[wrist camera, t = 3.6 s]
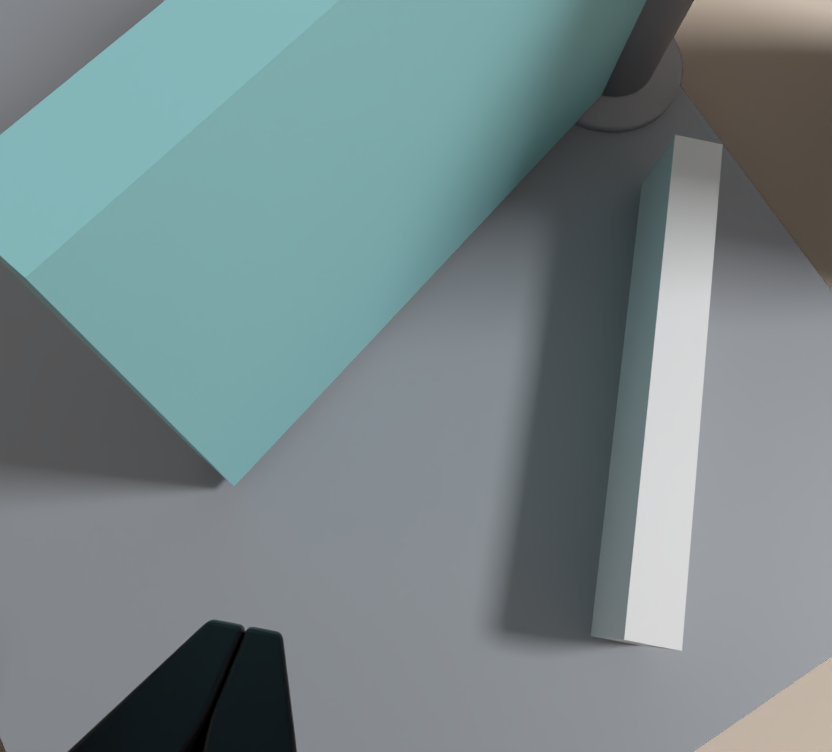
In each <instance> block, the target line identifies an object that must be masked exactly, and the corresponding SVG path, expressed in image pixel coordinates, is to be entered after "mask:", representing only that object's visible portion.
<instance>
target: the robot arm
mask: <svg viewBox="0 0 832 752" xmlns="http://www.w3.org/2000/svg"><path fill="white" fill-rule="evenodd" d="M68 752H297V747H296V739H295V731H294V722H293V714H292V706H291V698H290V689H289V681H288V673H287V665H286V656H285V648H284V640H283V636H282V634H281V633H280V632H278V631H273V630H268V629H263V628H257V627H249V628H248V629H247V630H246V631H245V628H244V627H243V626H242V625H241V624H237V623H232V622H226V621H221V620H214V619H213V620H210V621H208V622H206V623H205V624H204V625H203V626H202V627H201V628H200V629H198V630H197V631H196V632H195V633H194V634H193V635H192V636H191V637H190V638H189V639H188V640H187V641H186V642H185V643H183V644H182V645H181V646H180V647H179V648H178V649H177V650H176V651H175V652H174V653H173V654H172V655H171V656H169V657H168V658H167V659H166V660H165V661H164V662H163V663H162V664H161V665H160V666H159V667H158V668H157V669H156V670H154V671H153V672H152V673H151V674H150V675H149V676H148V677H147V678H146V679H145V680H144V681H143V682H142V683H141V684H139V685H138V686H137V687H136V688H135V689H134V690H133V691H132V692H131V693H130V694H129V695H128V696H127V697H126V698H124V699H123V700H122V701H121V702H120V703H119V704H118V705H117V706H116V707H115V708H114V709H113V710H112V711H111V712H109V713H108V714H107V715H106V716H105V717H104V718H103V719H102V720H101V721H100V722H99V723H98V724H97V725H95V726H94V727H93V728H92V729H91V730H90V731H89V732H88V733H87V734H86V735H85V736H84V737H83V738H82V739H80V740H79V741H78V742H77V743H76V744H75V745H74V746H73V747H72V748H71V749H70V750H69V751H68Z"/></svg>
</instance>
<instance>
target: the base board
mask: <svg viewBox="0 0 832 752" xmlns="http://www.w3.org/2000/svg"><path fill="white" fill-rule="evenodd" d="M164 1H165V0H0V135H1V134H2V133H3V132H4V131H6V130H7V129H8V128H9V127H10V126H12V125H13V124H14V123H15V122H17V121H18V120H19V119H20V118H21V117H23V116H24V115H25V114H26V113H28V112H29V111H30V110H31V109H33V108H34V107H35V106H36V105H37V104H39V103H40V102H41V101H42V100H44V99H45V98H46V97H47V96H49V95H50V94H51V93H52V92H53V91H55V90H56V89H57V88H58V87H60V86H61V85H62V84H63V83H64V82H66V81H67V80H68V79H69V78H71V77H72V76H73V75H74V74H76V73H77V72H78V71H79V70H80V69H82V68H83V67H84V66H85V65H87V64H88V63H89V62H90V61H91V60H93V59H94V58H95V57H96V56H98V55H99V54H100V53H101V52H103V51H104V50H105V49H106V48H107V47H109V46H110V45H111V44H112V43H114V42H115V41H116V40H117V39H119V38H120V37H121V36H122V35H123V34H125V33H126V32H127V31H128V30H130V29H131V28H132V27H133V26H134V25H136V24H137V23H138V22H139V21H141V20H142V19H143V18H144V17H146V16H147V15H148V14H149V13H150V12H152V11H153V10H154V9H155V8H157V7H158V6H159V5H160V4H161V3H163V2H164ZM682 72H683V68H682V58H681V54H680V51H679V48H678V45H677V43H676V41H675V39H674V37H673V39H672V41H671V43H670V44H669V46H668V48H667V50H666V52H665V53H664V55H663V57H662V59H661V61H660V63H659V64H658V66H657V68H656V70H655V72H654V73H653V75H652V77H651V79H650V80H649V82H648V83H647V84H646V85H645V86H644V87H643V88H641V89H640V90H639V91H637V92H635V93H632V94H629V95H625V96H618V97H613V96H604V95H601V96H600V97H599V98H598V99H597V101H596V102H595V103H594V104H593V105H592V106H591V107H590V108H589V109H588V110H587V111H586V112H585V113H584V114H583V115H582V117H581V118H580V119H579V120H578V121H577V122H576V123H575V124H574V125H573V126H572V127H571V128H570V129H569V130H568V131H567V132H566V134H565V135H564V136H563V137H562V138H561V139H560V140H559V141H558V142H557V143H556V144H555V145H554V146H553V147H552V148H551V150H550V151H549V152H548V153H547V154H546V155H545V156H544V157H543V158H542V159H541V160H540V161H539V162H538V163H537V164H536V166H535V167H534V168H533V169H532V170H531V171H530V172H529V173H528V174H527V175H526V176H525V177H524V178H523V179H522V180H521V182H520V183H519V184H518V185H517V186H516V187H515V188H514V189H513V190H512V191H511V192H510V193H509V194H508V195H507V196H506V197H505V199H504V200H503V201H502V202H501V203H500V204H499V205H498V206H497V207H496V208H495V209H494V210H493V211H492V212H491V213H490V215H489V216H488V217H487V218H486V219H485V220H484V221H483V222H482V223H481V224H480V225H479V226H478V227H477V228H476V229H475V231H474V232H473V233H472V234H471V235H470V236H469V237H468V238H467V239H466V240H465V241H464V242H463V243H462V244H461V245H460V246H459V248H458V249H457V250H456V251H455V252H454V253H453V254H452V255H451V256H450V257H449V258H448V259H447V260H446V261H445V262H444V264H443V265H442V266H441V267H440V268H439V269H438V270H437V271H436V272H435V273H434V274H433V275H432V276H431V277H430V278H429V280H428V281H427V282H426V283H425V284H424V285H423V286H422V287H421V288H420V289H419V290H418V291H417V292H416V293H415V294H414V296H413V297H412V298H411V299H410V300H409V301H408V302H407V303H406V304H405V305H404V306H403V307H402V308H401V309H400V310H399V311H398V313H397V314H396V315H395V316H394V317H393V318H392V319H391V320H390V321H389V322H388V323H387V324H386V325H385V326H384V327H383V329H382V330H381V331H380V332H379V333H378V334H377V335H376V336H375V337H374V338H373V339H372V340H371V341H370V342H369V343H368V345H367V346H366V347H365V348H364V349H363V350H362V351H361V352H360V353H359V354H358V355H357V356H356V357H355V358H354V359H353V360H352V362H351V363H350V364H349V365H348V366H347V367H346V368H345V369H344V370H343V371H342V372H341V373H340V374H339V375H338V376H337V378H336V379H335V380H334V381H333V382H332V383H331V384H330V385H329V386H328V387H327V388H326V389H325V390H324V391H323V392H322V394H321V395H320V396H319V397H318V398H317V399H316V400H315V401H314V402H313V403H312V404H311V405H310V406H309V407H308V408H307V409H306V411H305V412H304V413H303V414H302V415H301V416H300V417H299V418H298V419H297V420H296V421H295V422H294V423H293V424H292V425H291V427H290V428H289V429H288V430H287V431H286V432H285V433H284V434H283V435H282V436H281V437H280V438H279V439H278V440H277V441H276V443H275V444H274V445H273V446H272V447H271V448H270V449H269V450H268V451H267V452H266V453H265V454H264V455H263V456H262V457H261V459H260V460H259V461H258V462H257V463H256V464H255V465H254V466H253V467H252V468H251V469H250V470H249V471H248V472H247V473H246V474H245V476H244V477H243V478H242V479H241V480H240V481H239V482H238V483H237V484H236V485H235V486H233V485H232V484H231V483H229V482H228V481H227V480H226V479H225V478H224V477H223V476H222V475H221V474H219V473H218V472H217V471H216V470H215V469H214V468H213V467H212V466H211V465H209V464H208V463H207V462H206V461H205V460H204V459H203V458H202V457H201V456H199V455H198V454H197V453H196V452H195V451H194V450H193V449H192V448H191V447H190V446H189V445H188V444H187V443H186V442H185V441H184V440H183V439H182V438H181V437H180V436H179V435H178V434H177V433H176V432H175V431H174V430H173V429H172V428H171V427H169V426H168V425H167V424H166V423H165V422H164V421H163V420H162V419H161V418H160V417H159V416H158V415H157V414H156V413H155V412H154V411H153V410H152V409H151V408H150V407H149V406H148V405H147V404H146V403H145V402H144V401H143V400H142V399H141V398H140V397H139V396H138V395H137V394H136V393H135V392H134V391H133V390H132V389H131V388H130V387H128V386H127V385H126V384H125V383H124V382H123V381H122V380H121V379H120V378H119V377H118V376H117V375H116V374H115V373H114V372H113V371H112V370H111V369H110V368H109V367H108V366H107V365H106V364H105V363H104V362H103V361H102V360H101V359H100V358H99V357H98V356H97V355H96V354H95V353H94V352H93V351H92V350H91V349H90V348H89V347H88V346H86V345H85V344H84V343H83V342H82V341H81V340H80V339H79V338H78V337H77V336H76V335H75V334H74V333H73V332H72V331H71V330H70V329H69V328H68V327H67V326H66V325H65V324H64V323H63V322H62V321H61V320H60V319H59V318H58V317H57V316H56V315H55V314H54V313H53V312H52V311H51V310H50V309H49V308H48V307H47V306H46V305H44V304H43V303H42V302H41V301H40V300H39V299H38V298H37V297H36V296H35V295H34V294H33V293H32V292H31V291H30V290H29V289H28V288H27V287H26V286H25V285H24V284H23V283H22V282H21V281H20V280H19V279H18V278H17V277H16V276H15V275H14V274H13V273H12V272H11V271H10V270H9V269H8V268H7V267H6V266H5V265H4V264H2V263H1V262H0V738H1V741H2V743H3V746H4V748H5V751H6V752H68V751H69V750H70V749H71V748H72V747H73V746H74V745H75V744H76V743H77V742H78V741H79V740H80V739H82V738H83V737H84V736H85V735H86V734H87V733H88V732H89V731H90V730H91V729H92V728H93V727H94V726H95V725H97V724H98V723H99V722H100V721H101V720H102V719H103V718H104V717H105V716H106V715H107V714H108V713H109V712H111V711H112V710H113V709H114V708H115V707H116V706H117V705H118V704H119V703H120V702H121V701H122V700H123V699H124V698H126V697H127V696H128V695H129V694H130V693H131V692H132V691H133V690H134V689H135V688H136V687H137V686H138V685H139V684H141V683H142V682H143V681H144V680H145V679H146V678H147V677H148V676H149V675H150V674H151V673H152V672H153V671H154V670H156V669H157V668H158V667H159V666H160V665H161V664H162V663H163V662H164V661H165V660H166V659H167V658H168V657H169V656H171V655H172V654H173V653H174V652H175V651H176V650H177V649H178V648H179V647H180V646H181V645H182V644H183V643H185V642H186V641H187V640H188V639H189V638H190V637H191V636H192V635H193V634H194V633H195V632H196V631H197V630H198V629H200V628H201V627H202V626H203V625H204V624H205V623H206V622H208V621H210V620H213V619H214V620H221V621H226V622H232V623H237V624H241V625H242V626H243V627H244V628H245V631H246V630H247V629H248V628H249V627H257V628H263V629H268V630H273V631H278V632H280V633H281V634H282V636H283V640H284V648H285V656H286V665H287V673H288V681H289V689H290V698H291V706H292V714H293V722H294V731H295V739H296V747H297V752H694V751H695V750H696V749H698V748H699V747H701V746H702V745H704V744H705V743H707V742H708V741H709V740H711V739H712V738H714V737H715V736H717V735H718V734H720V733H721V732H723V731H724V730H725V729H727V728H728V727H730V726H731V725H733V724H734V723H736V722H737V721H739V720H740V719H741V718H743V717H744V716H746V715H747V714H749V713H750V712H752V711H753V710H755V709H756V708H757V707H759V706H760V705H762V704H763V703H765V702H766V701H768V700H769V699H770V698H772V697H773V696H775V695H776V694H778V693H779V692H781V691H782V690H784V689H785V688H786V687H788V686H789V685H791V684H792V683H794V682H795V681H797V680H798V679H800V678H801V677H802V676H804V675H805V674H807V673H808V672H810V671H811V670H813V669H814V668H815V667H817V666H818V665H820V664H821V663H823V662H824V661H826V660H827V659H829V658H830V657H831V656H832V291H831V290H830V288H829V287H828V286H827V284H826V283H825V282H824V280H823V279H822V277H821V276H820V275H819V273H818V272H817V271H816V269H815V268H814V267H813V265H812V264H811V262H810V261H809V260H808V258H807V257H806V256H805V254H804V253H803V252H802V250H801V249H800V247H799V246H798V245H797V243H796V242H795V241H794V239H793V238H792V237H791V235H790V234H789V232H788V231H787V230H786V228H785V227H784V226H783V224H782V223H781V222H780V220H779V219H778V217H777V216H776V215H775V213H774V212H773V211H772V209H771V208H770V207H769V205H768V204H767V202H766V201H765V200H764V198H763V197H762V196H761V194H760V193H759V192H758V190H757V189H756V188H755V186H754V185H753V183H752V182H751V181H750V179H749V178H748V177H747V175H746V174H745V173H744V171H743V170H742V168H741V167H740V166H739V164H738V163H737V162H736V160H735V159H734V158H733V156H732V155H731V153H730V152H729V151H728V149H727V148H726V147H725V145H724V144H723V143H722V141H721V140H720V138H719V137H718V136H717V134H716V133H715V132H714V130H713V129H712V128H711V126H710V125H709V123H708V122H707V121H706V119H705V118H704V117H703V115H702V114H701V113H700V111H699V110H698V108H697V107H696V106H695V104H694V103H693V102H692V100H691V99H690V98H689V96H688V95H687V93H686V92H685V91H684V89H683V88H682V87H681V85H680V83H681V80H682Z"/></svg>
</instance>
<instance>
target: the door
mask: <svg viewBox="0 0 832 752" xmlns="http://www.w3.org/2000/svg"><path fill="white" fill-rule="evenodd" d="M693 1H694V0H165V1H164V2H163V3H161V4H160V5H159V6H158V7H157V8H155V9H154V10H153V11H152V12H150V13H149V14H148V15H147V16H146V17H144V18H143V19H142V20H141V21H139V22H138V23H137V24H136V25H134V26H133V27H132V28H131V29H130V30H128V31H127V32H126V33H125V34H123V35H122V36H121V37H120V38H119V39H117V40H116V41H115V42H114V43H112V44H111V45H110V46H109V47H107V48H106V49H105V50H104V51H103V52H101V53H100V54H99V55H98V56H96V57H95V58H94V59H93V60H91V61H90V62H89V63H88V64H87V65H85V66H84V67H83V68H82V69H80V70H79V71H78V72H77V73H76V74H74V75H73V76H72V77H71V78H69V79H68V80H67V81H66V82H64V83H63V84H62V85H61V86H60V87H58V88H57V89H56V90H55V91H53V92H52V93H51V94H50V95H49V96H47V97H46V98H45V99H44V100H42V101H41V102H40V103H39V104H37V105H36V106H35V107H34V108H33V109H31V110H30V111H29V112H28V113H26V114H25V115H24V116H23V117H21V118H20V119H19V120H18V121H17V122H15V123H14V124H13V125H12V126H10V127H9V128H8V129H7V130H6V131H4V132H3V133H2V134H1V135H0V262H1V263H2V264H4V265H5V266H6V267H7V268H8V269H9V270H10V271H11V272H12V273H13V274H14V275H15V276H16V277H17V278H18V279H19V280H20V281H21V282H22V283H23V284H24V285H25V286H26V287H27V288H28V289H29V290H30V291H31V292H32V293H33V294H34V295H35V296H36V297H37V298H38V299H39V300H40V301H41V302H42V303H43V304H44V305H46V306H47V307H48V308H49V309H50V310H51V311H52V312H53V313H54V314H55V315H56V316H57V317H58V318H59V319H60V320H61V321H62V322H63V323H64V324H65V325H66V326H67V327H68V328H69V329H70V330H71V331H72V332H73V333H74V334H75V335H76V336H77V337H78V338H79V339H80V340H81V341H82V342H83V343H84V344H85V345H86V346H88V347H89V348H90V349H91V350H92V351H93V352H94V353H95V354H96V355H97V356H98V357H99V358H100V359H101V360H102V361H103V362H104V363H105V364H106V365H107V366H108V367H109V368H110V369H111V370H112V371H113V372H114V373H115V374H116V375H117V376H118V377H119V378H120V379H121V380H122V381H123V382H124V383H125V384H126V385H127V386H128V387H130V388H131V389H132V390H133V391H134V392H135V393H136V394H137V395H138V396H139V397H140V398H141V399H142V400H143V401H144V402H145V403H146V404H147V405H148V406H149V407H150V408H151V409H152V410H153V411H154V412H155V413H156V414H157V415H158V416H159V417H160V418H161V419H162V420H163V421H164V422H165V423H166V424H167V425H168V426H169V427H171V428H172V429H173V430H174V431H175V432H176V433H177V434H178V435H179V436H180V437H181V438H182V439H183V440H184V441H185V442H186V443H187V444H188V445H189V446H190V447H191V448H192V449H193V450H194V451H195V452H196V453H197V454H198V455H199V456H201V457H202V458H203V459H204V460H205V461H206V462H207V463H208V464H209V465H211V466H212V467H213V468H214V469H215V470H216V471H217V472H218V473H219V474H221V475H222V476H223V477H224V478H225V479H226V480H227V481H228V482H229V483H231V484H232V485H233V486H235V485H236V484H237V483H238V482H239V481H240V480H241V479H242V478H243V477H244V476H245V474H246V473H247V472H248V471H249V470H250V469H251V468H252V467H253V466H254V465H255V464H256V463H257V462H258V461H259V460H260V459H261V457H262V456H263V455H264V454H265V453H266V452H267V451H268V450H269V449H270V448H271V447H272V446H273V445H274V444H275V443H276V441H277V440H278V439H279V438H280V437H281V436H282V435H283V434H284V433H285V432H286V431H287V430H288V429H289V428H290V427H291V425H292V424H293V423H294V422H295V421H296V420H297V419H298V418H299V417H300V416H301V415H302V414H303V413H304V412H305V411H306V409H307V408H308V407H309V406H310V405H311V404H312V403H313V402H314V401H315V400H316V399H317V398H318V397H319V396H320V395H321V394H322V392H323V391H324V390H325V389H326V388H327V387H328V386H329V385H330V384H331V383H332V382H333V381H334V380H335V379H336V378H337V376H338V375H339V374H340V373H341V372H342V371H343V370H344V369H345V368H346V367H347V366H348V365H349V364H350V363H351V362H352V360H353V359H354V358H355V357H356V356H357V355H358V354H359V353H360V352H361V351H362V350H363V349H364V348H365V347H366V346H367V345H368V343H369V342H370V341H371V340H372V339H373V338H374V337H375V336H376V335H377V334H378V333H379V332H380V331H381V330H382V329H383V327H384V326H385V325H386V324H387V323H388V322H389V321H390V320H391V319H392V318H393V317H394V316H395V315H396V314H397V313H398V311H399V310H400V309H401V308H402V307H403V306H404V305H405V304H406V303H407V302H408V301H409V300H410V299H411V298H412V297H413V296H414V294H415V293H416V292H417V291H418V290H419V289H420V288H421V287H422V286H423V285H424V284H425V283H426V282H427V281H428V280H429V278H430V277H431V276H432V275H433V274H434V273H435V272H436V271H437V270H438V269H439V268H440V267H441V266H442V265H443V264H444V262H445V261H446V260H447V259H448V258H449V257H450V256H451V255H452V254H453V253H454V252H455V251H456V250H457V249H458V248H459V246H460V245H461V244H462V243H463V242H464V241H465V240H466V239H467V238H468V237H469V236H470V235H471V234H472V233H473V232H474V231H475V229H476V228H477V227H478V226H479V225H480V224H481V223H482V222H483V221H484V220H485V219H486V218H487V217H488V216H489V215H490V213H491V212H492V211H493V210H494V209H495V208H496V207H497V206H498V205H499V204H500V203H501V202H502V201H503V200H504V199H505V197H506V196H507V195H508V194H509V193H510V192H511V191H512V190H513V189H514V188H515V187H516V186H517V185H518V184H519V183H520V182H521V180H522V179H523V178H524V177H525V176H526V175H527V174H528V173H529V172H530V171H531V170H532V169H533V168H534V167H535V166H536V164H537V163H538V162H539V161H540V160H541V159H542V158H543V157H544V156H545V155H546V154H547V153H548V152H549V151H550V150H551V148H552V147H553V146H554V145H555V144H556V143H557V142H558V141H559V140H560V139H561V138H562V137H563V136H564V135H565V134H566V132H567V131H568V130H569V129H570V128H571V127H572V126H573V125H574V124H575V123H576V122H577V121H578V120H579V119H580V118H581V117H582V115H583V114H584V113H585V112H586V111H587V110H588V109H589V108H590V107H591V106H592V105H593V104H594V103H595V102H596V101H597V99H598V98H599V97H600V96H601V95H604V96H613V97H618V96H625V95H629V94H632V93H635V92H637V91H639V90H640V89H641V88H643V87H644V86H645V85H646V84H647V83H648V82H649V80H650V79H651V77H652V75H653V73H654V72H655V70H656V68H657V66H658V64H659V63H660V61H661V59H662V57H663V55H664V53H665V52H666V50H667V48H668V46H669V44H670V43H671V41H672V39H673V37H674V35H675V34H676V32H677V30H678V28H679V26H680V25H681V23H682V21H683V19H684V17H685V15H686V14H687V12H688V10H689V8H690V6H691V5H692V3H693Z"/></svg>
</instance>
